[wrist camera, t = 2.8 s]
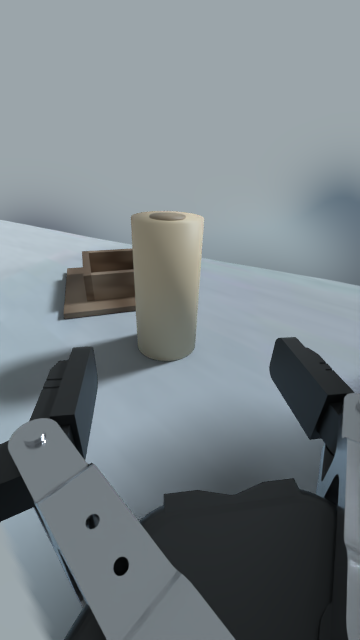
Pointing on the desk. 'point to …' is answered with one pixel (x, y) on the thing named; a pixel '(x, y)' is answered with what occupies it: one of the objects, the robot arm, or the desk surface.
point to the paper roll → (166, 281)
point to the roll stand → (101, 284)
